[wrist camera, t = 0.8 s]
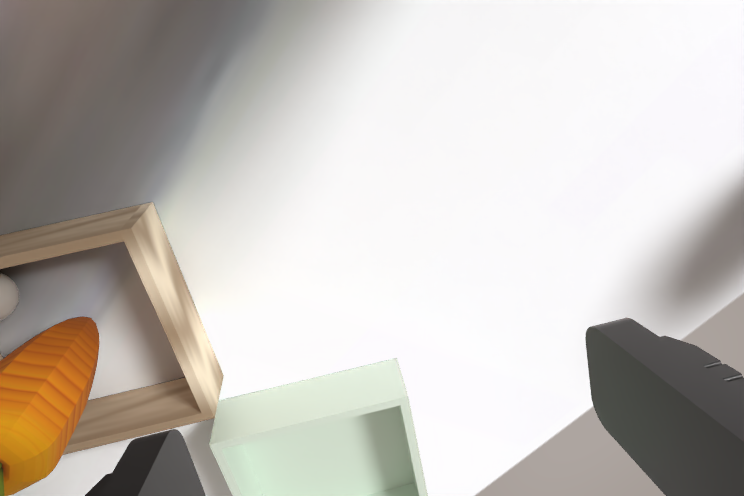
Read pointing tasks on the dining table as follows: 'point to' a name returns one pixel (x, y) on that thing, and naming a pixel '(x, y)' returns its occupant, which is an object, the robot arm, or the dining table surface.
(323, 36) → the dining table surface
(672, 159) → the dining table surface
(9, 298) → the white ball
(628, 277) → the dining table surface
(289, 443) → the green tray
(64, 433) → the carrot
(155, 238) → the birch frame
